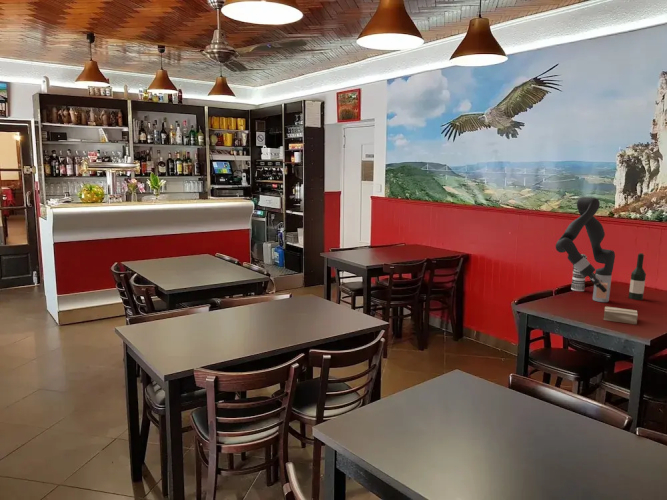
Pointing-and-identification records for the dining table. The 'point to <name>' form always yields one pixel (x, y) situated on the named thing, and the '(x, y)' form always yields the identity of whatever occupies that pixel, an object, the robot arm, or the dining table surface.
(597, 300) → the robot arm
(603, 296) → the terracotta block
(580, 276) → the leaning tower model
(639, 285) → the wine bottle
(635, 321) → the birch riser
